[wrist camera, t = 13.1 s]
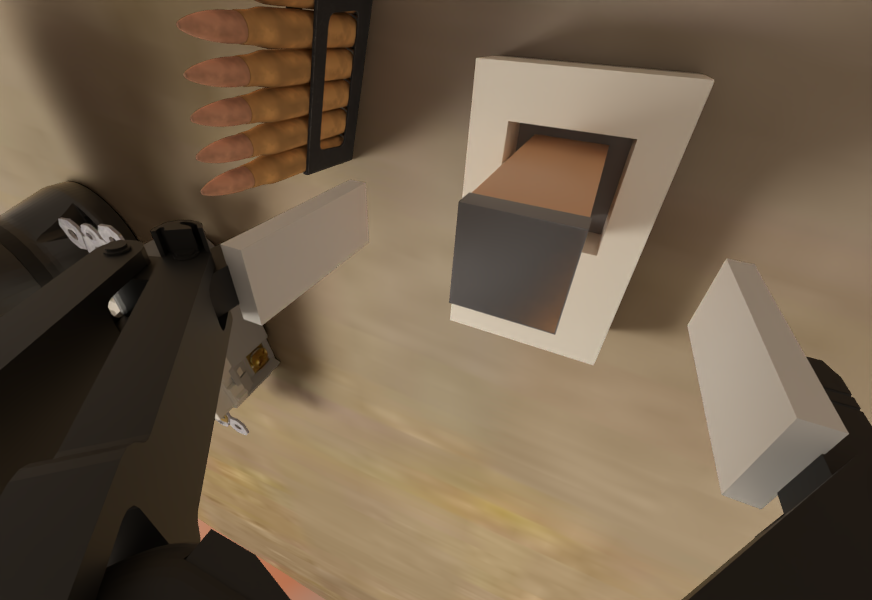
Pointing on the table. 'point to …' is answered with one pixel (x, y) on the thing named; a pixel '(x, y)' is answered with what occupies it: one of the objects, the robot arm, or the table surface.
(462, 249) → the copper brown rectangular block
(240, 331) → the electrical outlet
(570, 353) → the socket plate
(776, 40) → the table surface
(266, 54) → the ammunition clip
